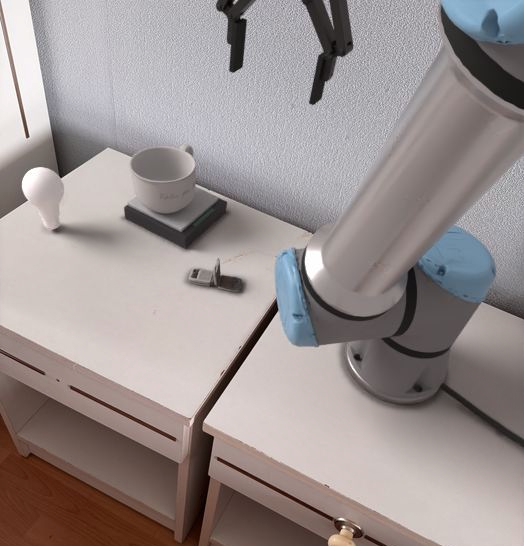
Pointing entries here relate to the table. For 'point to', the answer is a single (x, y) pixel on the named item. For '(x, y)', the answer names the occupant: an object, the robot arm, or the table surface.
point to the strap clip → (214, 278)
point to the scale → (179, 218)
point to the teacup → (164, 177)
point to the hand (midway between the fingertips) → (274, 85)
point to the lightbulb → (44, 194)
